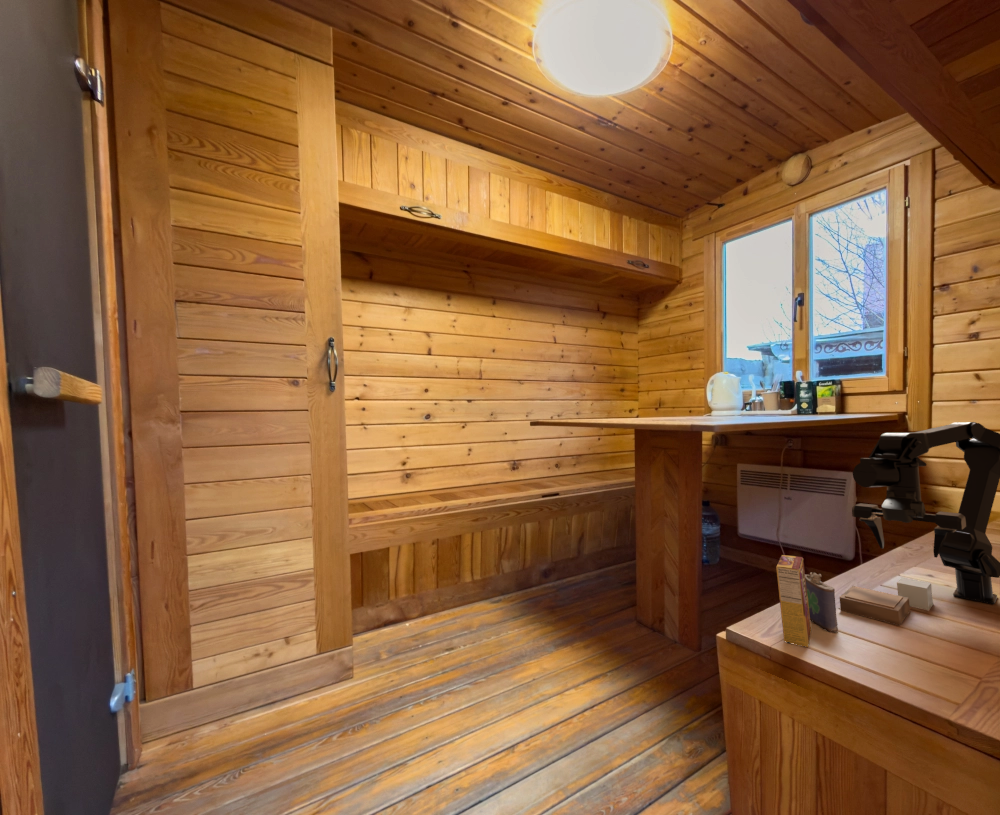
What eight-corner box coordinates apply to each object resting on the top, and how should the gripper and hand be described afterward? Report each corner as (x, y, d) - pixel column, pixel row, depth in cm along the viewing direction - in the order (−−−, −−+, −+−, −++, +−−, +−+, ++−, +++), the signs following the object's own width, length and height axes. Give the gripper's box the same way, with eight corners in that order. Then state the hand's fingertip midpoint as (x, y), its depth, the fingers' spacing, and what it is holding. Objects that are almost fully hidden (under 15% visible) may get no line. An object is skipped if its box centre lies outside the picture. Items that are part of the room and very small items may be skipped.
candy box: (787, 625, 91) (781, 554, 92) (811, 630, 89) (805, 557, 89) (781, 642, 84) (775, 565, 85) (808, 648, 82) (801, 569, 82)
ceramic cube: (903, 598, 102) (901, 577, 102) (933, 604, 98) (931, 582, 98) (898, 604, 99) (896, 582, 99) (928, 610, 95) (926, 588, 95)
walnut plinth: (853, 598, 103) (852, 584, 103) (910, 611, 95) (908, 596, 95) (840, 610, 97) (839, 596, 97) (899, 625, 89) (897, 609, 89)
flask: (841, 633, 87) (836, 580, 87) (825, 633, 87) (820, 580, 88) (814, 613, 96) (810, 566, 96) (800, 613, 96) (796, 566, 97)
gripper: (842, 485, 102) (846, 550, 102) (953, 493, 87) (959, 570, 86) (857, 481, 109) (861, 542, 108) (963, 488, 94) (969, 559, 93)
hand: (908, 552), depth 99 cm, fingers open, 9 cm apart
